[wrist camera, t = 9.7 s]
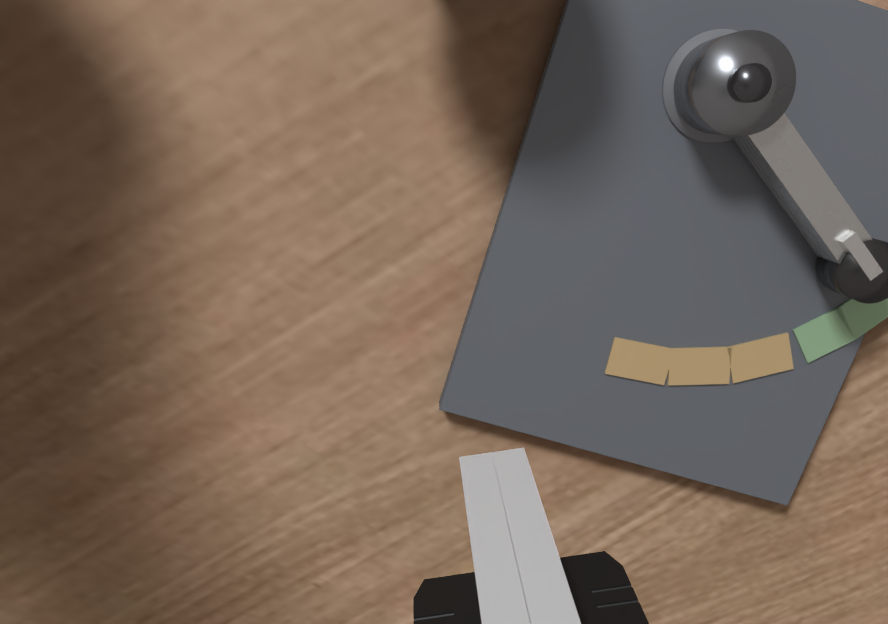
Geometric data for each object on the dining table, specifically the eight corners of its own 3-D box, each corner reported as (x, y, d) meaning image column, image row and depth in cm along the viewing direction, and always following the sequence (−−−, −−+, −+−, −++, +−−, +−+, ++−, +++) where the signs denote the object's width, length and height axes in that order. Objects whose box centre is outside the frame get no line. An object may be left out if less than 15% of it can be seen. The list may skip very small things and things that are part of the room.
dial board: (439, 401, 41) (439, 410, 40) (591, -81, 35) (598, -89, 34) (825, 508, 43) (838, 521, 42) (1031, 67, 37) (1053, 65, 36)
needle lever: (655, 80, 36) (680, 75, 32) (732, 16, 35) (767, 4, 31) (824, 312, 38) (865, 332, 35) (898, 257, 38) (948, 272, 34)
